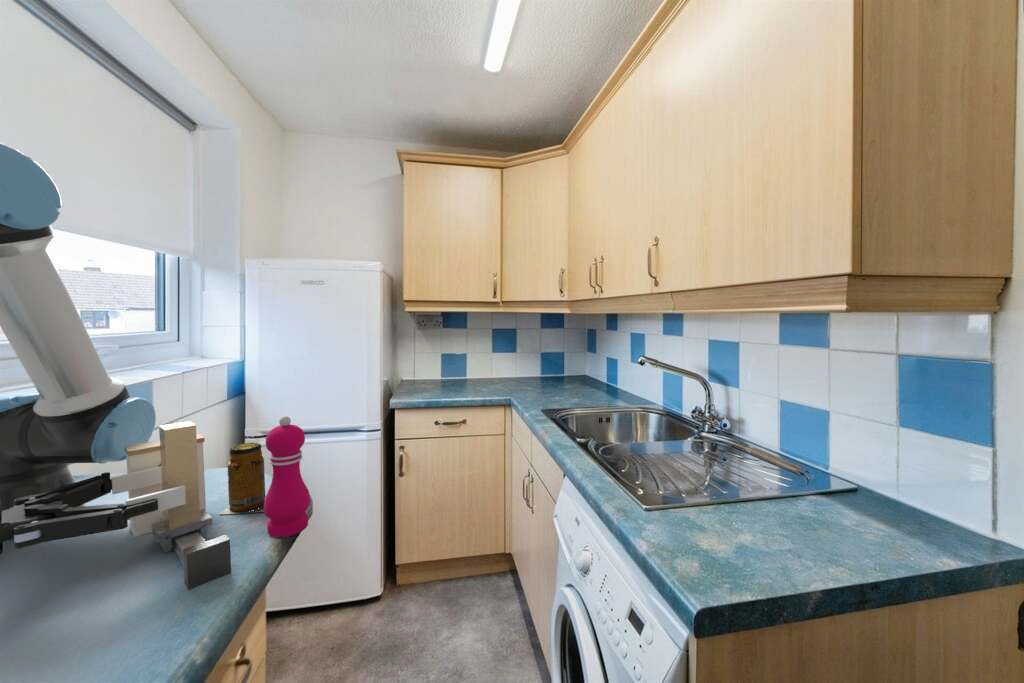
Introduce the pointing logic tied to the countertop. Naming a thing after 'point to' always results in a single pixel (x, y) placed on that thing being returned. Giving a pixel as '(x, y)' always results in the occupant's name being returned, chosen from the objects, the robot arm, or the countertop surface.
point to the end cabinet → (150, 458)
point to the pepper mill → (286, 481)
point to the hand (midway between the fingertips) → (174, 483)
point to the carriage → (180, 483)
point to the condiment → (246, 479)
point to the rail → (202, 557)
